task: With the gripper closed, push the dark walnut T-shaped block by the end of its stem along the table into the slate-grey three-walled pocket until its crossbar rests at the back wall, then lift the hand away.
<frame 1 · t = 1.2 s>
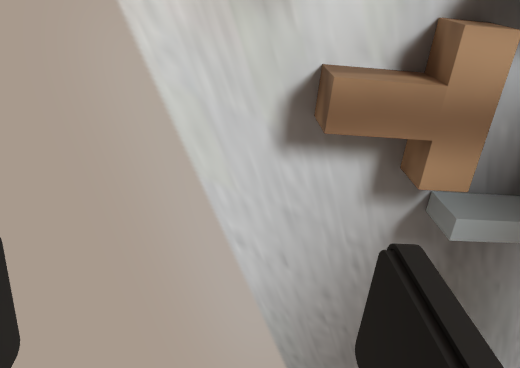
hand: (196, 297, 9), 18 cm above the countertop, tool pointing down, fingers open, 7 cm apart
T block: (393, 96, 26), on the countertop
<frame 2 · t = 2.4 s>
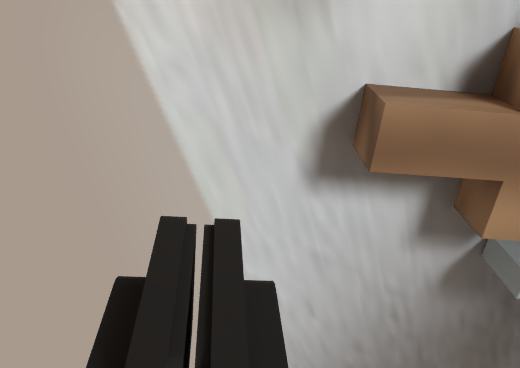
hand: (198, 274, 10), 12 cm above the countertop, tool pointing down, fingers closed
T block: (451, 122, 21), on the countertop
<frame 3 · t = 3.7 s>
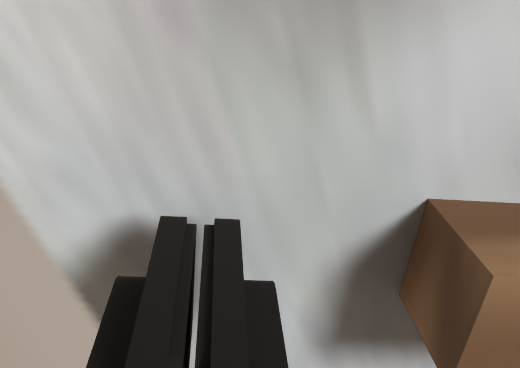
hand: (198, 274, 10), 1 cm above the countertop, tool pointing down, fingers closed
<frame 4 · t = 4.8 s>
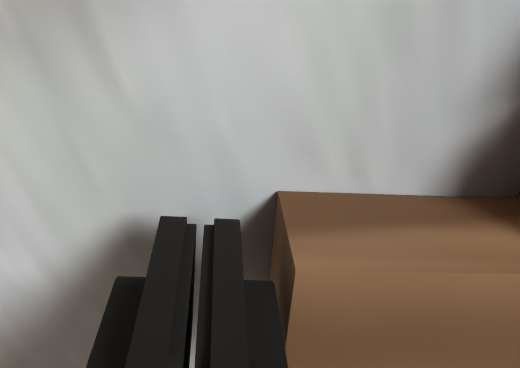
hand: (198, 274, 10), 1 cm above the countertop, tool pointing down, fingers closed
T block: (444, 247, 12), on the countertop, touching gripper
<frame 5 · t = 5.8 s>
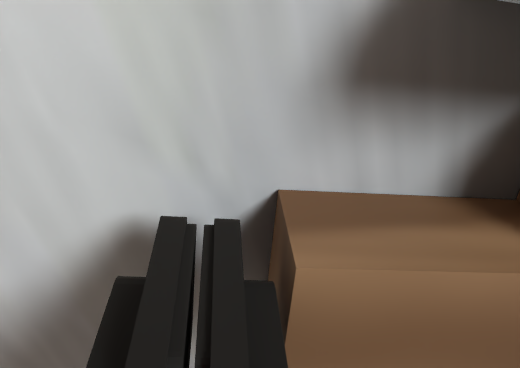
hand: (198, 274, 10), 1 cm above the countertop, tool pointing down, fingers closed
T block: (442, 247, 12), on the countertop, touching gripper
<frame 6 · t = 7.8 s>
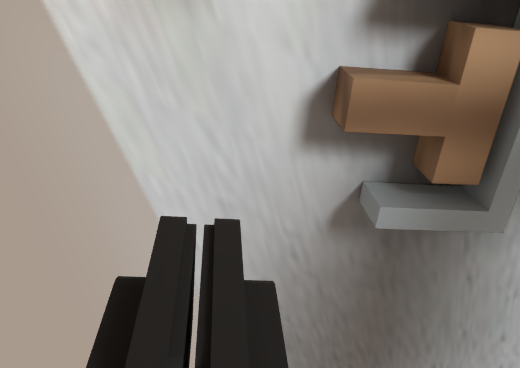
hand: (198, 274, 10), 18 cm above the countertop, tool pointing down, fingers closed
pocket: (488, 101, 28), on the countertop
T block: (406, 95, 28), on the countertop
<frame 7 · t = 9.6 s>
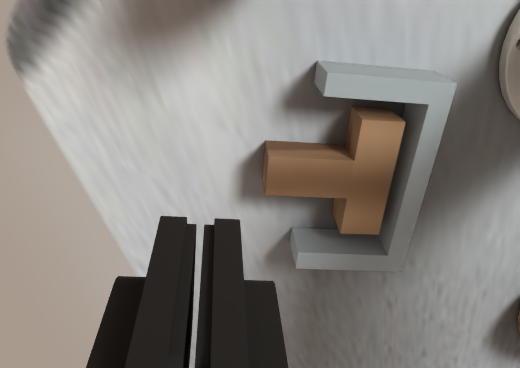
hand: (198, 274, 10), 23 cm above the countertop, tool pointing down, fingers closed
pocket: (390, 165, 35), on the countertop
T block: (321, 161, 35), on the countertop
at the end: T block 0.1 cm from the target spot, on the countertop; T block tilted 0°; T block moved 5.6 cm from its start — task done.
